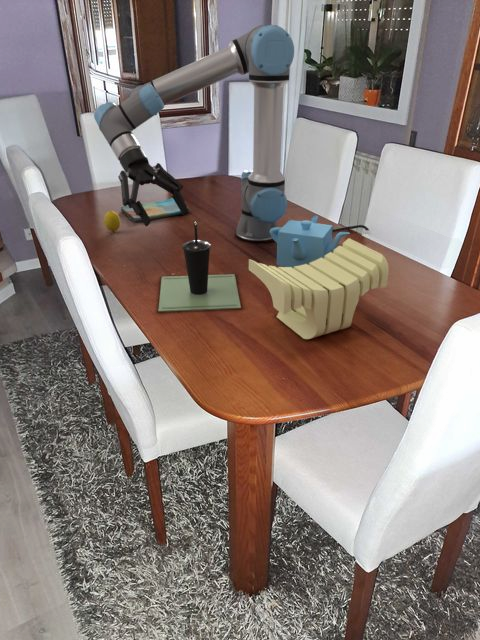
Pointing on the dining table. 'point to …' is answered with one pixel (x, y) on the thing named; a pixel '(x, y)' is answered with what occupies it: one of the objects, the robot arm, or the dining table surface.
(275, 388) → the dining table surface
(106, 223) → the lemon
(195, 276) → the drinking cup
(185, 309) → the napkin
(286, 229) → the teakettle
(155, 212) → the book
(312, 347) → the dining table surface
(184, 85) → the robot arm
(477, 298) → the dining table surface
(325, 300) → the slatted curved stool
